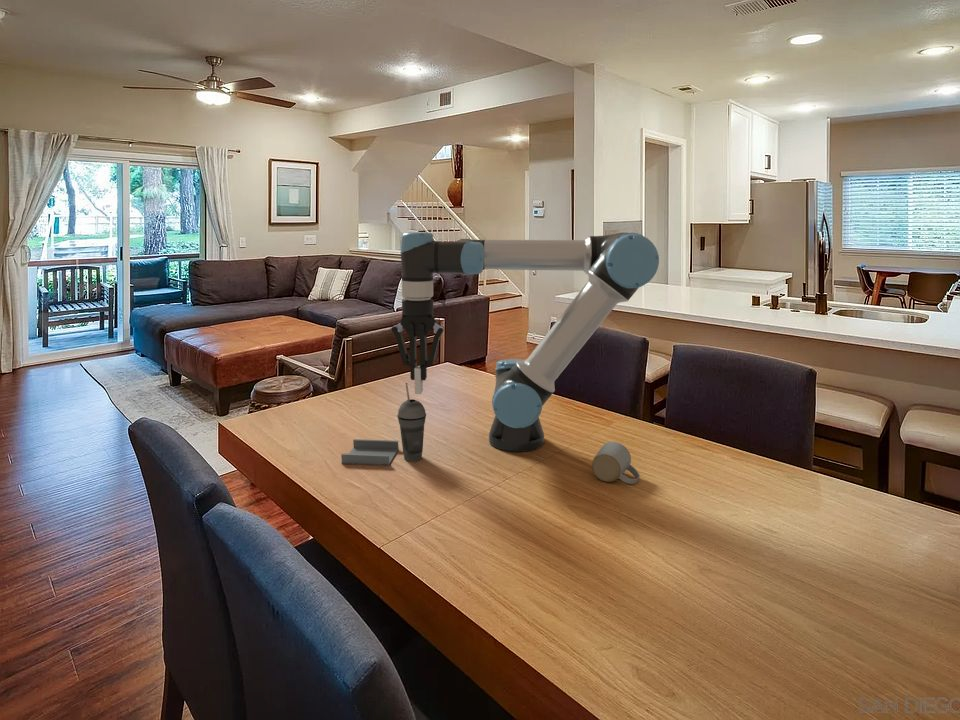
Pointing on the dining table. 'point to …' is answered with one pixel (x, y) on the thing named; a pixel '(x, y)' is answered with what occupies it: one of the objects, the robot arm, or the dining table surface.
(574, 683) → the dining table surface
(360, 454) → the cradle
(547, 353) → the robot arm
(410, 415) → the beverage cup
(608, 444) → the ceramic mug
